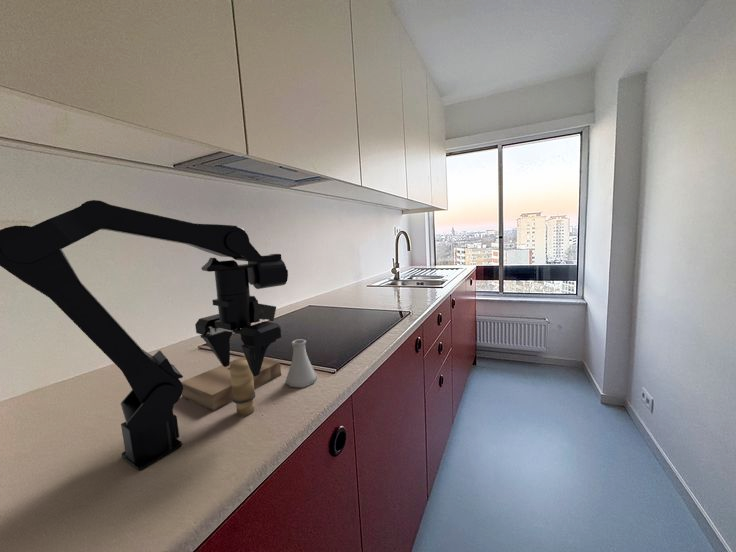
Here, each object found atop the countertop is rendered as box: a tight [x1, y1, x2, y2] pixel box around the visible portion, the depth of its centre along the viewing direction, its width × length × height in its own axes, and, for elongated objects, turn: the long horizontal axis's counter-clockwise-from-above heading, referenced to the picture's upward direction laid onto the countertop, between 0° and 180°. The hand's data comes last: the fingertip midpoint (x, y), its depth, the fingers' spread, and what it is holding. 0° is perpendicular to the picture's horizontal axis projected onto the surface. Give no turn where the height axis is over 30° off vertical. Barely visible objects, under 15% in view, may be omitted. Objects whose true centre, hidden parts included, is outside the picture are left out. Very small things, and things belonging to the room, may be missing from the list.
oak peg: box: [230, 360, 256, 417], centre depth 60 cm, size 4×4×10 cm
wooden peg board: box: [181, 355, 282, 412], centre depth 72 cm, size 18×12×4 cm, turn 149°
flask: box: [285, 338, 318, 389], centre depth 73 cm, size 7×7×10 cm
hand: (240, 370), depth 60 cm, fingers open, 9 cm apart
